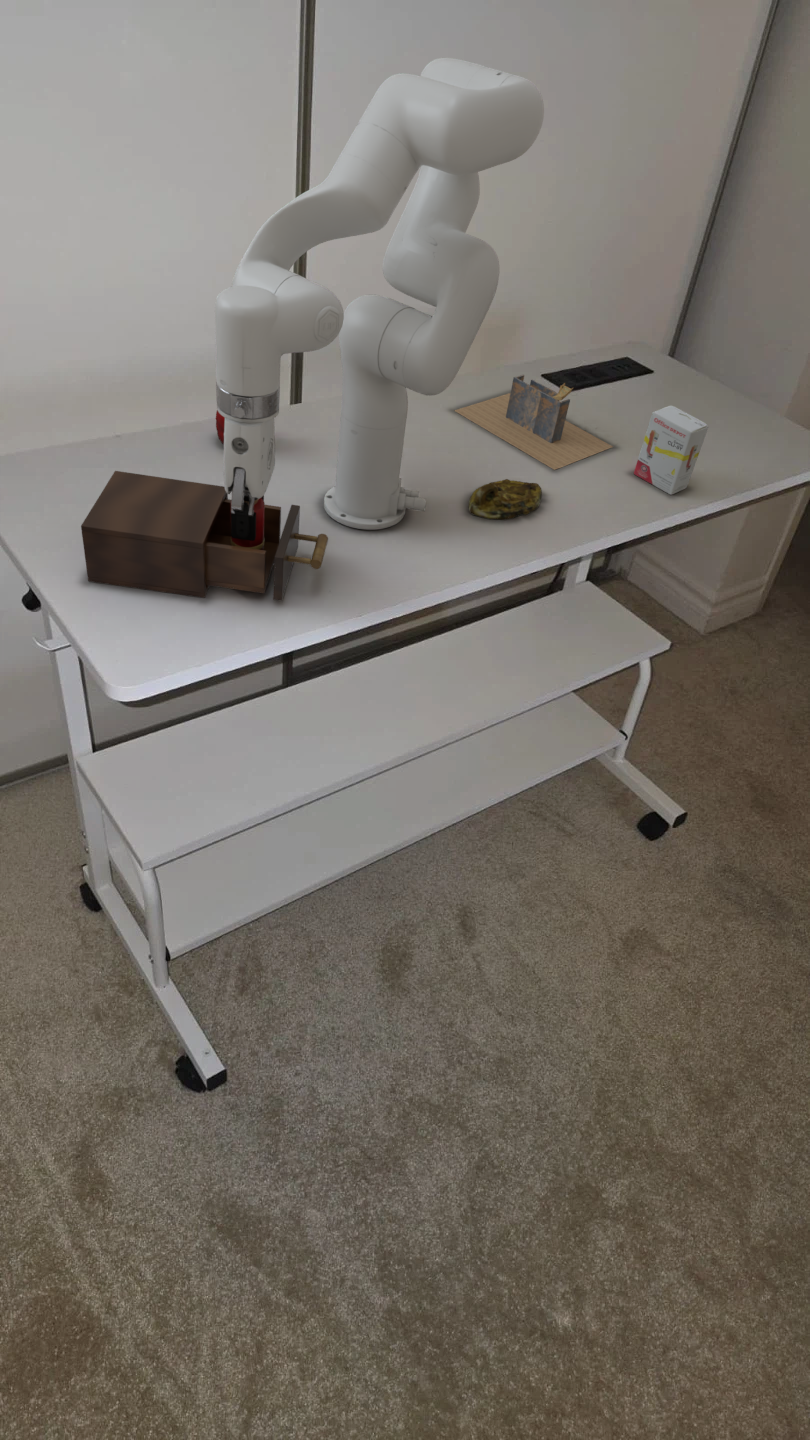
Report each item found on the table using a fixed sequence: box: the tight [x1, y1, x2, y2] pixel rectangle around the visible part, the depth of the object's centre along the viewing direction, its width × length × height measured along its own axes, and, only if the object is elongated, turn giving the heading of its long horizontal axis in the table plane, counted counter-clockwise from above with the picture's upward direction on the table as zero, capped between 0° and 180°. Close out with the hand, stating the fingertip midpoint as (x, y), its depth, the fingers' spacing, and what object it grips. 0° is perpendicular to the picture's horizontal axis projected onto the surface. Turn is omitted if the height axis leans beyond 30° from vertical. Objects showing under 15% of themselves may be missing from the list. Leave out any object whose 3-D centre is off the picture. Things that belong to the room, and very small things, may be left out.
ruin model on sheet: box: [453, 374, 614, 471], centre depth 172 cm, size 25×16×10 cm, turn 42°
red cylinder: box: [231, 487, 266, 550], centre depth 128 cm, size 5×5×12 cm
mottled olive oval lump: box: [468, 478, 543, 521], centre depth 154 cm, size 9×5×15 cm
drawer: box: [205, 498, 329, 602], centre depth 130 cm, size 19×13×7 cm
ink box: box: [633, 405, 709, 496], centre depth 163 cm, size 9×5×12 cm, turn 41°
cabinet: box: [80, 470, 229, 599], centre depth 130 cm, size 16×14×9 cm
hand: (247, 526), depth 128 cm, fingers closed on red cylinder, 4 cm apart
